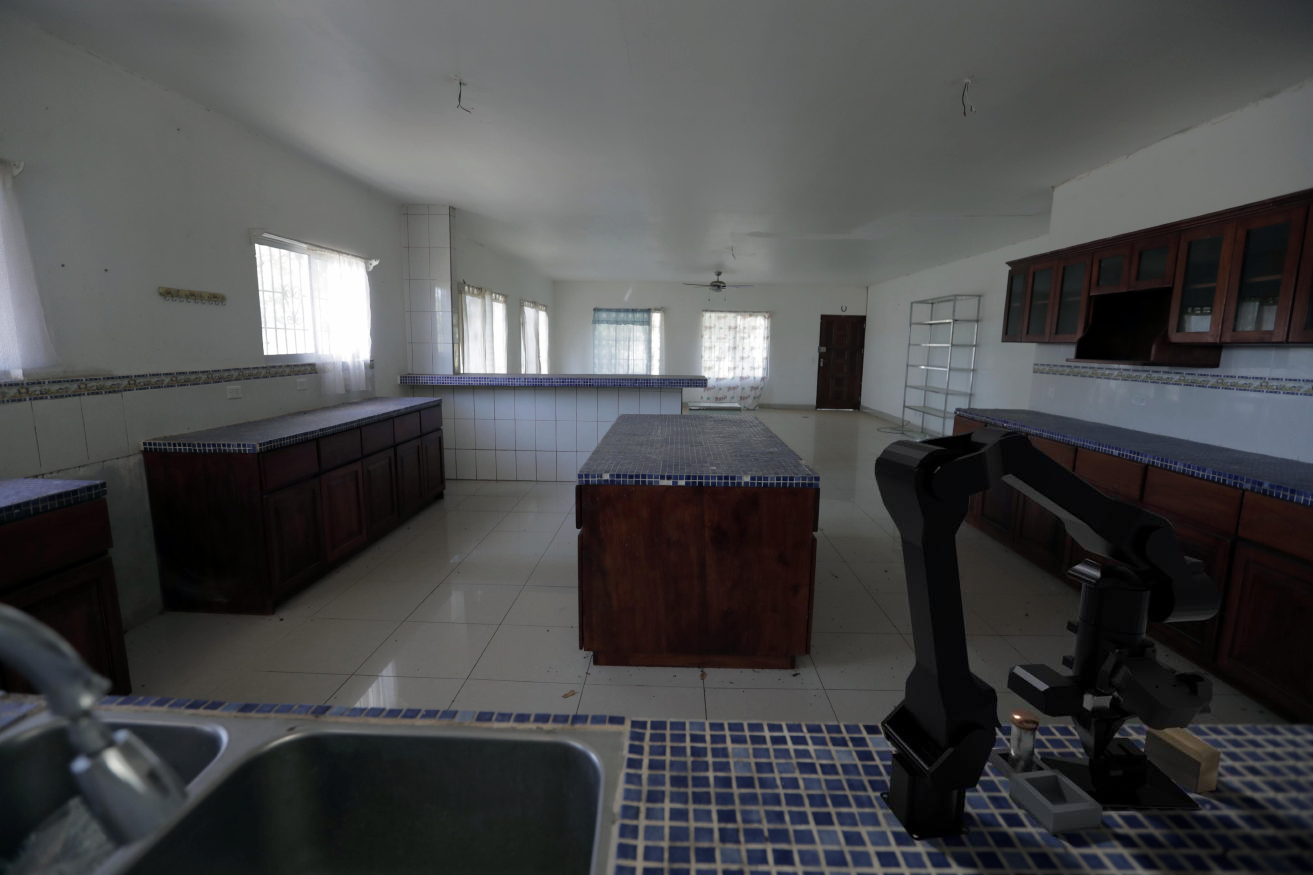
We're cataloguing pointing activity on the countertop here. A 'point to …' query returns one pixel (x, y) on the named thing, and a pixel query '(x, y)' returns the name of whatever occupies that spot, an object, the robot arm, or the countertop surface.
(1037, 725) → the pin
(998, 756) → the pin socket
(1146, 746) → the rail
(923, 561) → the robot arm
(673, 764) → the countertop surface
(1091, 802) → the tray
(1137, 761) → the build plate
